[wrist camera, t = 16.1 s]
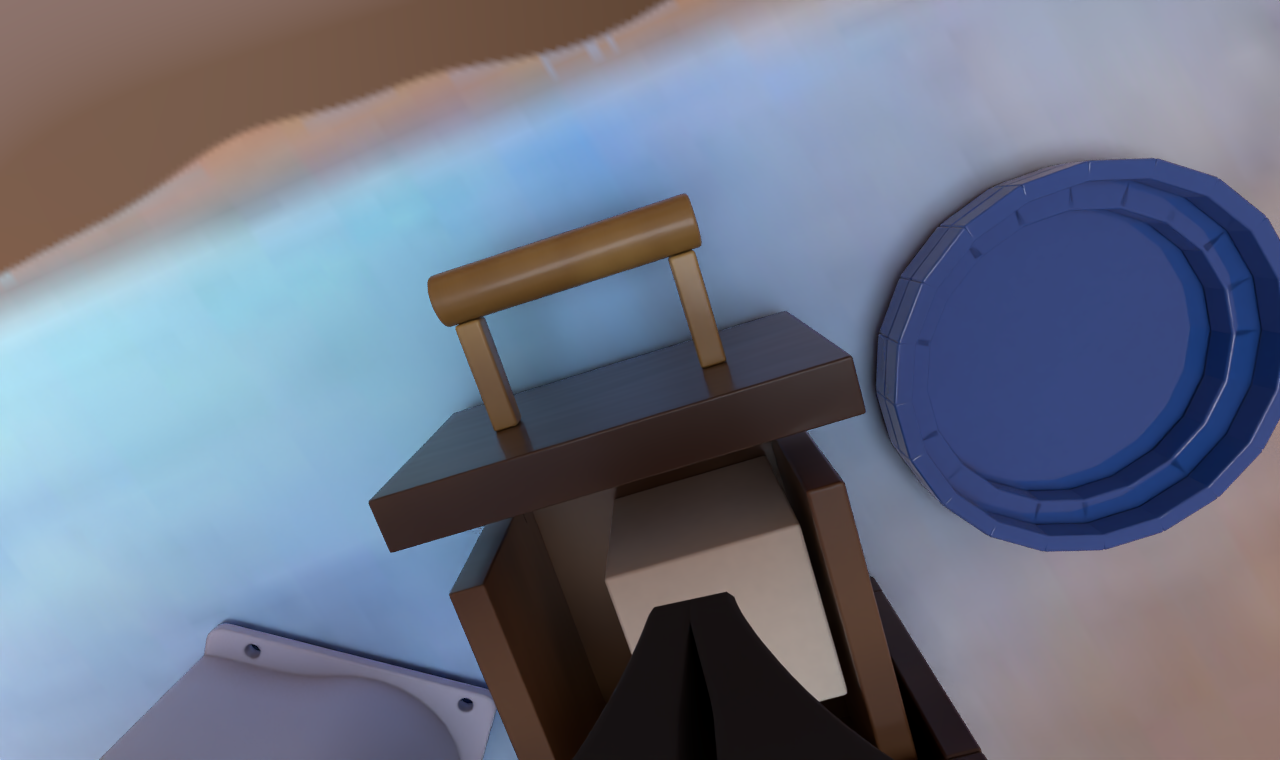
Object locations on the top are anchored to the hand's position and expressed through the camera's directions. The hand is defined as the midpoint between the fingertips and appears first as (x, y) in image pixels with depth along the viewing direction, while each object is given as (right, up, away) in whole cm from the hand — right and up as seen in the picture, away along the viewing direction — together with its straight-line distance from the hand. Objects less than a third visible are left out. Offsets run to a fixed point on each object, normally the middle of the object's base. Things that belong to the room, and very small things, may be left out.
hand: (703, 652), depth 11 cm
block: (+1, 0, +8) cm, 8 cm away
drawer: (0, +1, +9) cm, 9 cm away
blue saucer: (+11, +5, +9) cm, 15 cm away
